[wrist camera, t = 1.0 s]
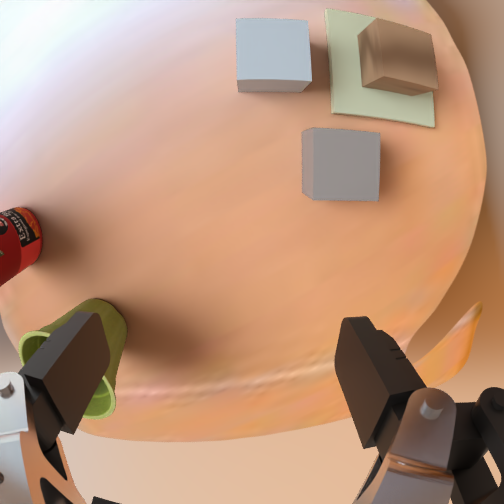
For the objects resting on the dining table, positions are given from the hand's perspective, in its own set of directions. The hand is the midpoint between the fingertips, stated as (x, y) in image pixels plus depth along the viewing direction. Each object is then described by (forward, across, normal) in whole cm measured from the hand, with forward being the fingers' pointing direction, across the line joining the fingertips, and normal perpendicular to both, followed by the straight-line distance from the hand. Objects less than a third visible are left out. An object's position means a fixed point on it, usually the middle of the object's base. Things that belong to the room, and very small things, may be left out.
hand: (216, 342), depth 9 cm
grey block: (+21, -9, -5) cm, 23 cm away
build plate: (+21, -15, -16) cm, 30 cm away
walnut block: (+20, -15, -16) cm, 30 cm away
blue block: (+21, -3, -15) cm, 26 cm away
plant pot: (+21, +17, +14) cm, 30 cm away
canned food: (+21, +27, +2) cm, 35 cm away
